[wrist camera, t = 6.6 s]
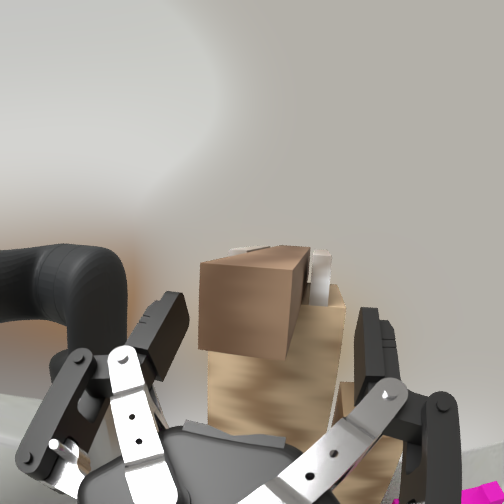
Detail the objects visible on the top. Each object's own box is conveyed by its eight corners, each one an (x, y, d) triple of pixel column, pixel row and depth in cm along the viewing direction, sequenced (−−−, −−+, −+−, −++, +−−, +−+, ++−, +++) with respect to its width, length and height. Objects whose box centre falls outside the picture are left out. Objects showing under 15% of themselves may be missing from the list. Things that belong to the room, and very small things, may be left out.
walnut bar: (198, 349, 11) (200, 262, 11) (279, 274, 35) (280, 245, 34) (285, 360, 10) (292, 270, 10) (308, 276, 34) (310, 247, 34)
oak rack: (212, 549, 23) (211, 248, 21) (233, 498, 33) (245, 244, 31) (346, 563, 20) (444, 263, 18) (346, 510, 29) (405, 255, 27)
